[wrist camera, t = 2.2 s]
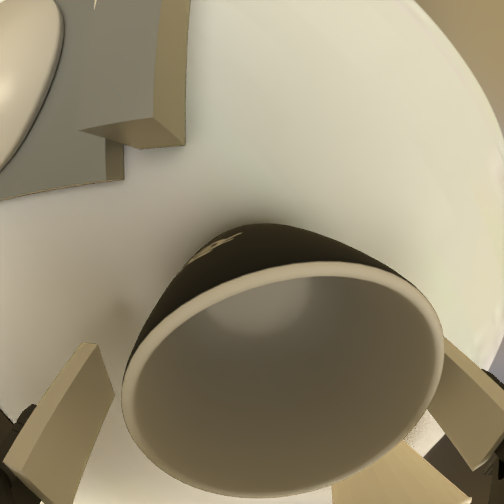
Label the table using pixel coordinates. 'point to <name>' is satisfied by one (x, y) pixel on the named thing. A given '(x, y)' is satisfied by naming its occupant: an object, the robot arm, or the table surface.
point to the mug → (280, 364)
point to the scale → (87, 88)
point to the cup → (398, 482)
